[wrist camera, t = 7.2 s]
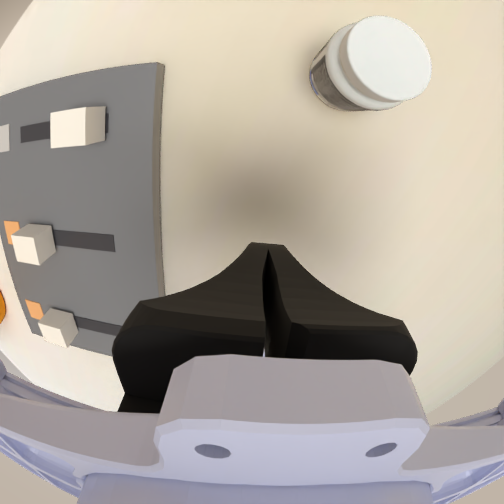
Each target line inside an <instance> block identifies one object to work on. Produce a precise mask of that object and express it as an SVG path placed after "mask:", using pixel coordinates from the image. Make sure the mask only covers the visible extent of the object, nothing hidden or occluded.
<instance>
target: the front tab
mask: <svg viewBox="0 0 504 504" xmlns="http://www.w3.org/2000/svg"><path fill="white" fill-rule="evenodd" d="M105 108H106V106H100V107H83V108H76V109H70V110H64V111H58V112H53V113H51V115H50V136H51V148H60V147H71V146H83V145H89V144H93V143H97V142H101V141H105Z"/></svg>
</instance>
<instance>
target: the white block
mask: <svg viewBox="0 0 504 504" xmlns="http://www.w3.org/2000/svg"><path fill="white" fill-rule="evenodd" d="M38 325H39V327H40V330H41V332H42V335H43V337H44V339H45V341H46V342H49V343H52V344H55V345H58V346H61V347H65V348H68V347H69V345H70V344H71V342H72V341H73V339H74V338H75V336H76V335H77V334H78V329H77V326H76V323H75V320H74V317H73V314H72V313H68V312H64V311H60V310H56V309H52V308H50V309H49V310H48V311H47V312H46V314H45V315H44V316H43V317H42V318H41V319H40V321H39V322H38Z"/></svg>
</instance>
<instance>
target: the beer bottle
mask: <svg viewBox="0 0 504 504" xmlns="http://www.w3.org/2000/svg"><path fill="white" fill-rule="evenodd" d="M4 316H5V303H4V300H3V297H2V294H1V292H0V323H1V322H2V320H3V319H4Z"/></svg>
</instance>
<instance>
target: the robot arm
mask: <svg viewBox="0 0 504 504" xmlns="http://www.w3.org/2000/svg"><path fill="white" fill-rule="evenodd" d="M417 353H418V351H417V348H416V345H415V343H414V341H413V339H412V337H411V335H410V333H409V331H408V329H407V327H406V325H405V324H404V322H403V321H402V320H399V319H396V318H392V317H389V316H386V315H383V314H379V313H376V312H374V311H371V310H369V309H367V308H364V307H362V306H359V305H357V304H355V303H353V302H351V301H349V300H347V299H346V298H344V297H342V296H340V295H338V294H337V293H335V292H334V291H332V290H331V289H329V288H328V287H326V286H325V285H324V284H322V283H321V282H319V281H318V280H317V279H316V278H315V277H313V276H312V275H311V274H310V273H309V272H308V271H307V270H306V269H305V268H304V267H303V266H302V265H301V264H300V263H299V262H298V261H297V260H296V259H295V258H294V257H293V256H292V254H291V253H290V252H289V251H288V250H287V248H286V247H285V246H284V245H277V244H266V243H254V242H251V243H250V244H249V245H248V246H247V248H246V249H245V250H244V251H243V253H242V254H241V255H240V256H239V257H238V258H237V259H236V260H235V261H234V262H233V263H232V264H230V265H229V266H228V267H227V268H226V269H225V270H223V271H222V272H221V273H219V274H218V275H216V276H215V277H213V278H211V279H209V280H208V281H205V282H203V283H201V284H199V285H197V286H195V287H192V288H190V289H187V290H184V291H182V292H178V293H175V294H172V295H168V296H163V297H158V298H153V299H148V300H141V301H139V302H138V304H137V305H136V306H135V308H134V309H133V310H132V311H131V313H130V314H129V316H128V317H127V319H126V320H125V322H124V324H123V326H122V327H121V329H120V331H119V332H118V334H117V336H116V338H115V339H114V342H113V346H112V356H113V361H114V364H115V367H116V370H117V373H118V376H119V378H120V381H121V384H122V386H123V389H124V392H125V395H124V397H123V399H122V402H121V404H120V407H119V409H118V412H112V411H104V410H101V409H98V408H95V407H92V406H88V405H85V404H83V403H80V402H77V401H74V400H71V399H68V398H66V397H63V396H61V395H58V394H55V393H53V392H50V391H48V390H46V389H43V388H41V387H39V386H36V385H34V384H32V383H29V382H27V381H25V380H23V379H21V378H19V377H17V376H15V375H13V374H11V373H8V372H7V371H6V368H5V366H4V364H3V362H2V361H1V359H0V451H1V452H2V453H3V454H5V455H6V456H7V457H9V458H11V459H12V460H13V461H15V462H16V463H18V464H19V465H21V466H22V467H24V468H25V469H27V470H29V471H30V472H32V473H33V474H35V475H37V476H39V477H40V478H42V479H43V480H45V481H47V482H49V483H50V484H52V485H54V486H56V487H58V488H60V489H61V490H63V491H66V492H67V493H69V494H71V495H73V496H75V497H77V498H79V499H78V501H77V504H449V503H451V502H454V501H455V500H458V499H460V498H462V497H464V496H466V495H468V494H470V493H472V492H474V491H476V490H478V489H480V488H482V487H484V486H486V485H488V484H490V483H492V482H493V481H495V480H497V479H499V478H501V477H502V476H504V398H503V400H502V401H501V402H500V403H499V405H498V407H496V408H493V409H490V410H487V411H484V412H480V413H477V414H474V415H470V416H467V417H463V418H460V419H456V420H452V421H448V422H444V423H440V424H435V425H431V426H429V423H428V420H427V418H426V415H425V412H424V410H423V407H422V404H421V402H420V399H419V397H418V394H417V392H416V389H415V387H414V384H413V382H412V379H411V377H410V374H411V373H412V371H413V369H414V366H415V364H416V362H417Z"/></svg>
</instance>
